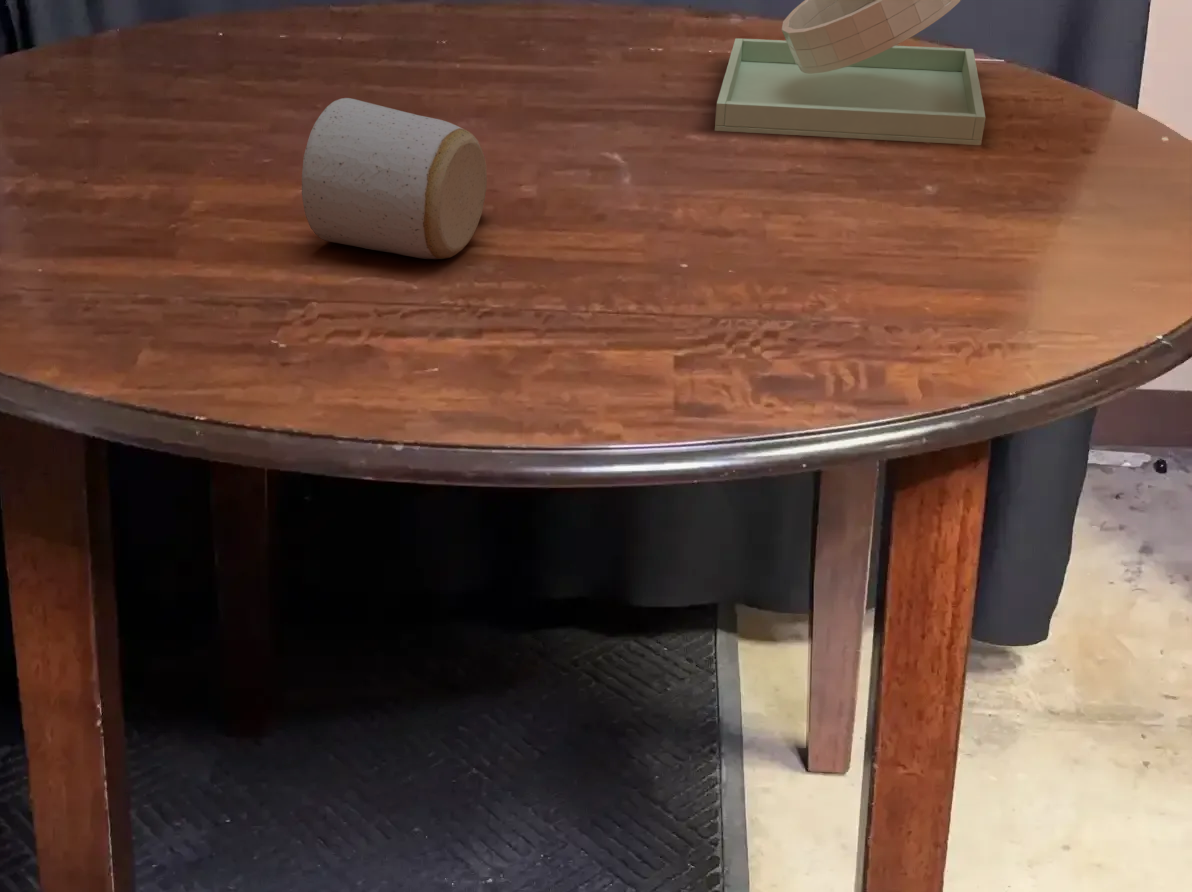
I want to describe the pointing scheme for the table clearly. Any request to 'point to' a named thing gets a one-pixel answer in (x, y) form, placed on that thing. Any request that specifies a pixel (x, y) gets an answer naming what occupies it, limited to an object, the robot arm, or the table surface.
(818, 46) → the bowl
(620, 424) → the table surface
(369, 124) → the ceramic mug
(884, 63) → the tray
